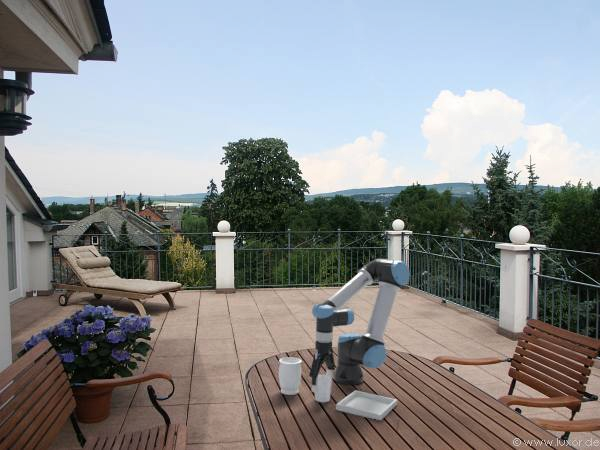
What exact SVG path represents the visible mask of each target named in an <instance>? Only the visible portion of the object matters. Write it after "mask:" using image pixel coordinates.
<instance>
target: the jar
mask: <svg viewBox="0 0 600 450" xmlns="http://www.w3.org/2000/svg"><path fill="white" fill-rule="evenodd" d="M278 363H279V368H278V380H279V386H280V388H281V389H280V393H281V394H283V395H286V396H294V395H297V394H299V388H300V385H301V380H302V365H301V364H302V359H301V358H298V357H294V356H293V357H290V356H289V357H282V358H280V359H279V360H278Z"/></svg>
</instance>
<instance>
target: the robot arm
mask: <svg viewBox="0 0 600 450" xmlns="http://www.w3.org/2000/svg"><path fill="white" fill-rule="evenodd" d="M410 274H411V273H410V269H409V266H408V265H407V263H406V262H405V261H401V260H398V259H387V258H376V259H373V260H372V261H370V262H367V263H366V264H365V265H363V267H361V268H360V269H359V270H357V274H356V275H355V276H353V277H352V278H351V279H350V280H349V281H347V282H346V283H345V284H344V285H343V286H342V287H340V288H339V289H338V290H337V291H336V292H335V293H334V294H332V295H331V296H330V297H329V298H328V299H326V300H325V301H324V302H323V303H321V302H320V303H316V304H314V305H313V307H312V311H311V313H312V315H313V317H314V319H316V324H315V326H316V327H315V343H314V344H315V347H314V348H315V350H316V351H317V353H314V354H313V357H312V358H313V359H312V363H311V368H310V371H309V375H308V376H309V378H310V377H311V392H312V393H314V394H315V393H318V377H317V376H318V375H320V370H321V368H322V366H323V365H324V363H325V365H326V368H327V369H326V373H325V375H328V376H331V377H332V378H333V381H335V382H337V383H338V384H342V385H358V384H361V383H363V382H364V377H365V376H364V372H363V370H362V369H363V368H362V366H363V367H366V368H370V369H378V368H379V367H381V366H382V365H383V364H384V362H385V361H386V359H387V355H388V353H387V349H386V347H385V343H386V342H385V340H384V335H385V333H386V329H387V325H388V322H389V320H390V315H391V312H392V308H393V305H394V302H395V298H396V295H397V293H398V292H399V291H400V290H401V289H402V286H404V285H406V284H407V283H408V282H409V281H410V280H409V279H410V276H411V275H410ZM375 282H377V283H378V285H379V289H378V292H377V295H376V299H375V302H374V305H373V308H372V311H371V315H370V318H369V321H368V325H367V328H366V331H365V332H364V334H361V333H342V334H340V335H339V336H338V340H337V363H336V362H335V359H334V353H333V350H334V349H333V336H334V335H333V331H334V327H342V326H345V327H346V326H348V325H352V324H353V323H354V321H355V314H354V311H353V310H352V309H351V308H346V307H345V308H343V307H344V306H345V305H346V304H347V303H349V302H350V301H351V300H352V299H353V298H355V296H357V295H358V294H359V293H360V292H361V291H363V290H364V289H365V288H366V287H367V286H371V285H373V284H374V283H375ZM336 364H337V365H336ZM333 370H334V371H333ZM333 372H334V373H333ZM333 381H332V382H331V385H333Z"/></svg>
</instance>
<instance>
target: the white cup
mask: <svg viewBox="0 0 600 450" xmlns="http://www.w3.org/2000/svg"><path fill="white" fill-rule="evenodd" d="M317 377H318V393H315V392H314V400H315V401H316V402H318V403H326V402H327V403H328V402H329V401H330V400H331V394H332V393H331V392H332V384H331V382H332V383H333V376H332V377H331V376H328V375H326V374H318V376H317Z"/></svg>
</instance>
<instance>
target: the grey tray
mask: <svg viewBox="0 0 600 450" xmlns="http://www.w3.org/2000/svg"><path fill="white" fill-rule="evenodd" d="M396 405H397V406H398V399H396V398H392V397H388V396H383V395H378V394H374V393H370V392H366V391H362V390H361V391H360V390H357V389H355V390H354V391H352V392H351V393H349V394H348V395H347V396H345V397H344V398H343V399H341V400H340V401H338V402H337V403H336V404H335V410H336V411H338V412H339V411H340V412H343V413H347V414H352V415H355V416H358V417H362V418H367V419H370V418H372V419H371V420H374V419H376V420H375V421H378V420H380V421H379V422H381V421H383V420H384V418H385V417H386V416H387V415H389V414H390V413H391V412H392V411H393V410H394V409H393V408H394V407H395V406H396ZM397 406H396V407H397ZM396 407H395V408H396ZM392 409H393V410H392ZM391 410H392V411H391ZM390 411H391V412H390ZM389 412H390V413H389Z"/></svg>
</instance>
